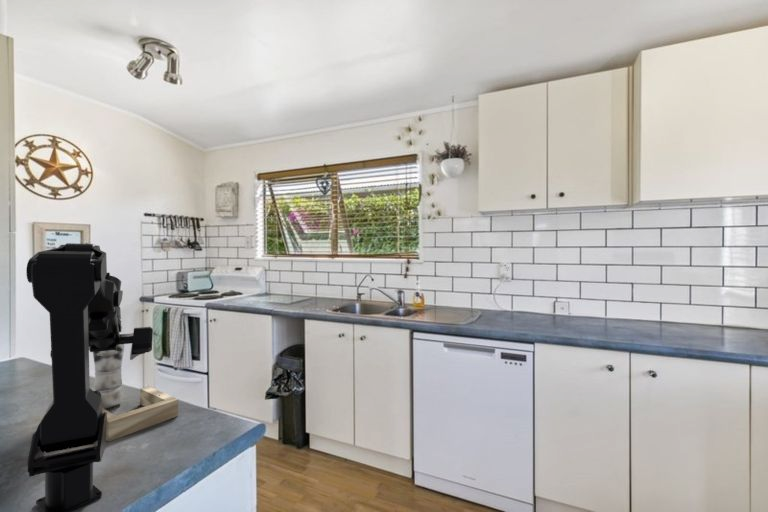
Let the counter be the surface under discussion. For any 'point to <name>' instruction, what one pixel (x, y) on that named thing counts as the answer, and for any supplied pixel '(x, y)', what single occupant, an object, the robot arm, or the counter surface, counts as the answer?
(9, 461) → the counter surface
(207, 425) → the counter surface
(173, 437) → the counter surface
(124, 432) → the bracket
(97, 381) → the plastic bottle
